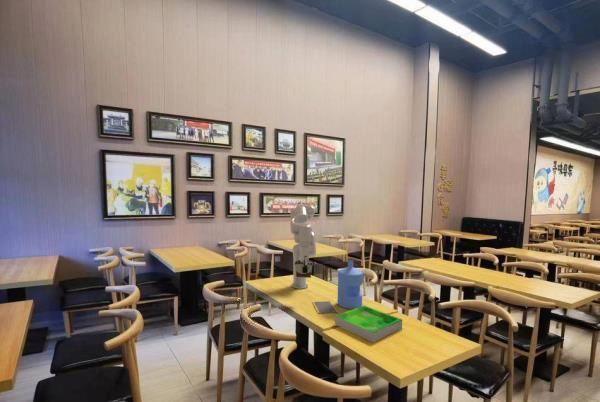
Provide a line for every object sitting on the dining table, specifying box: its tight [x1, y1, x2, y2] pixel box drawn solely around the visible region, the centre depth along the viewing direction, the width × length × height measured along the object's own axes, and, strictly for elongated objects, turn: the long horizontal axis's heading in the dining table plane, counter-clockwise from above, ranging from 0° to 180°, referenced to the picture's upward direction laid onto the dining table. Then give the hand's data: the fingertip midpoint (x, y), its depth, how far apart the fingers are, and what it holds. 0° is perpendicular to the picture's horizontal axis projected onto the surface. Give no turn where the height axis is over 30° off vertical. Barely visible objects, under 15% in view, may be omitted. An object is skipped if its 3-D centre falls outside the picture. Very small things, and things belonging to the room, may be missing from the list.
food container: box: [293, 260, 314, 279], centre depth 198 cm, size 12×6×10 cm, turn 84°
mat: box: [311, 300, 339, 315], centre depth 187 cm, size 18×12×1 cm, turn 9°
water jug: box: [337, 259, 364, 310], centre depth 192 cm, size 16×16×28 cm
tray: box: [334, 305, 403, 343], centre depth 162 cm, size 25×25×5 cm
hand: (304, 271), depth 198 cm, fingers closed on food container, 6 cm apart
